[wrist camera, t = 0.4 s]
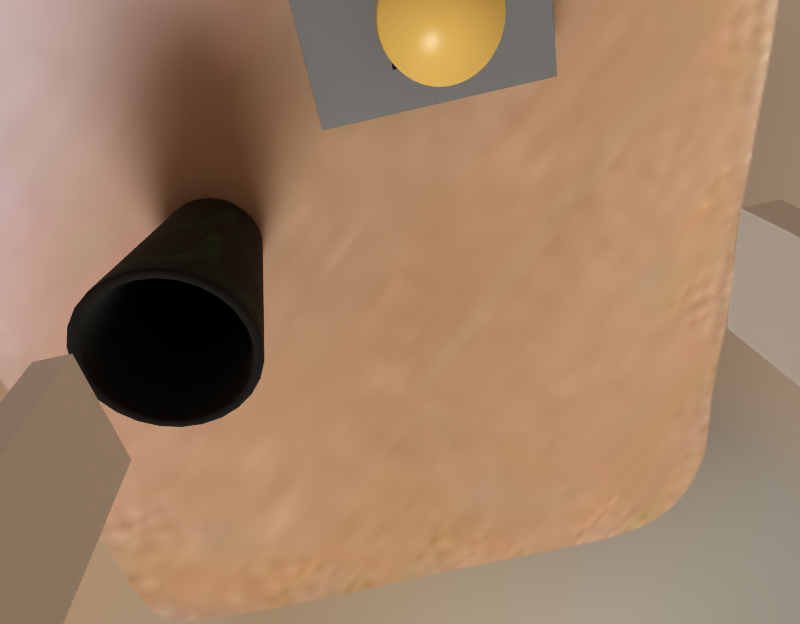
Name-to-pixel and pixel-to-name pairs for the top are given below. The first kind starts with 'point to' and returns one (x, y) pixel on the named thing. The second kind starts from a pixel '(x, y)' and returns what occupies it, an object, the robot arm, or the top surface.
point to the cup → (177, 320)
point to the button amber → (439, 37)
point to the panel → (384, 83)
